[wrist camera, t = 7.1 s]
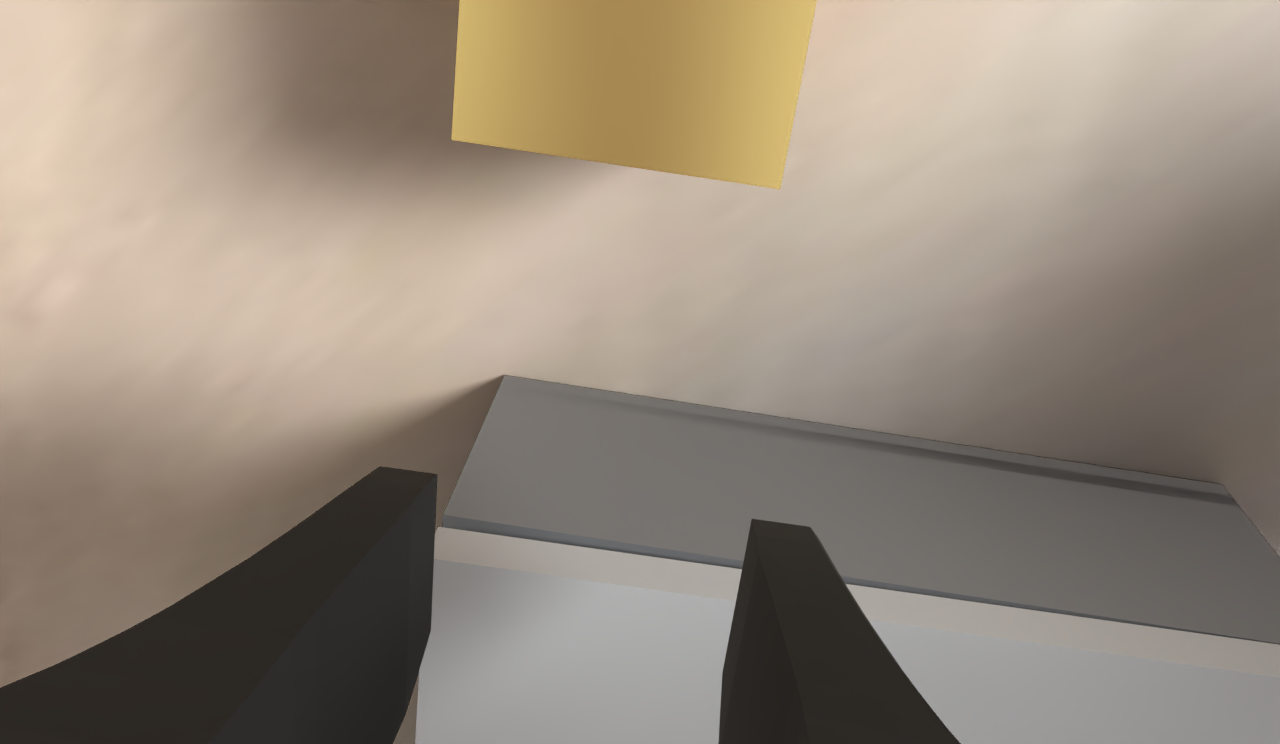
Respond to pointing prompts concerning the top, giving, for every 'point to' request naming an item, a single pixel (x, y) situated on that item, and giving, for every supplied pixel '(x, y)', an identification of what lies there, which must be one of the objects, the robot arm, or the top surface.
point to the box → (868, 508)
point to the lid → (698, 638)
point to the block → (635, 82)
